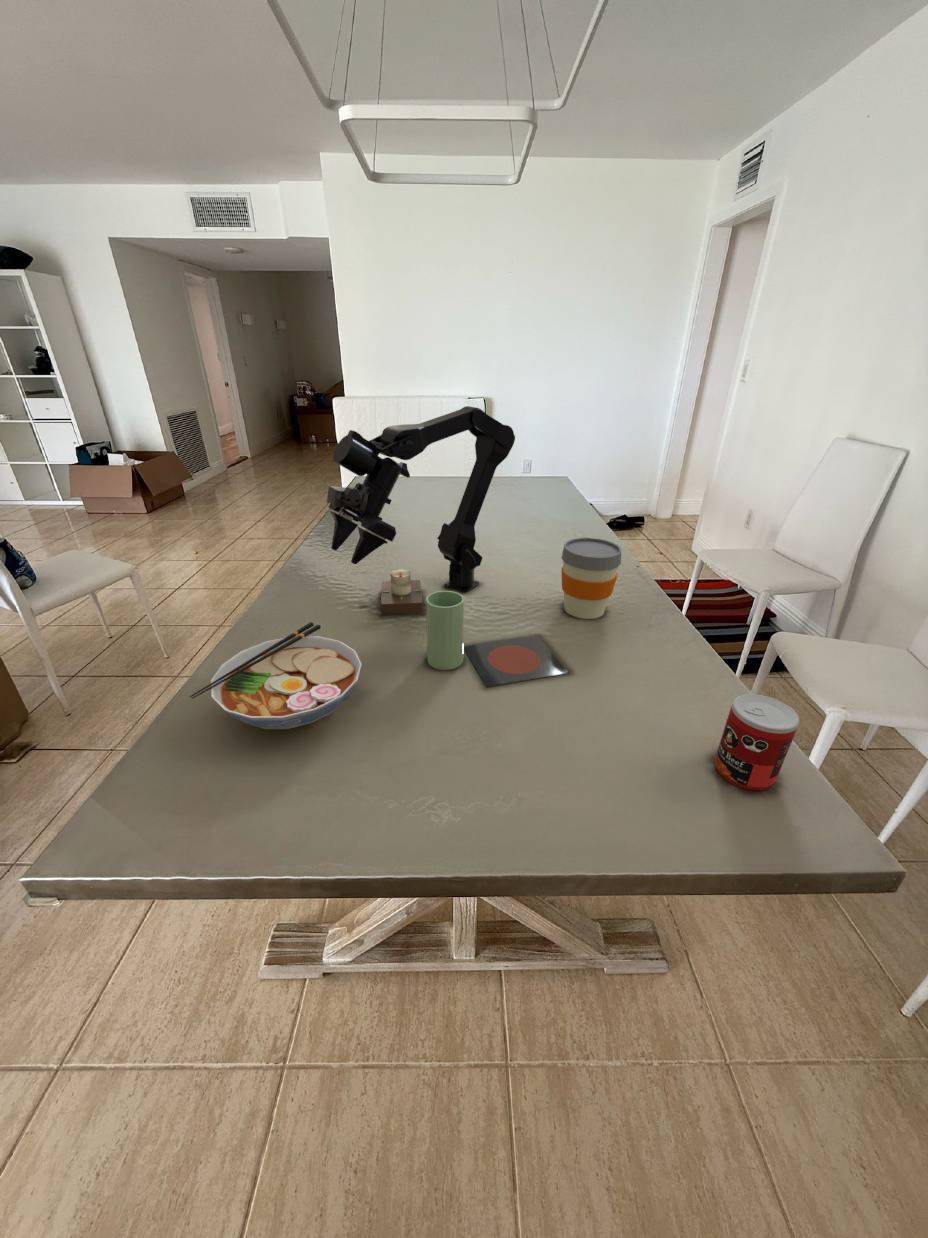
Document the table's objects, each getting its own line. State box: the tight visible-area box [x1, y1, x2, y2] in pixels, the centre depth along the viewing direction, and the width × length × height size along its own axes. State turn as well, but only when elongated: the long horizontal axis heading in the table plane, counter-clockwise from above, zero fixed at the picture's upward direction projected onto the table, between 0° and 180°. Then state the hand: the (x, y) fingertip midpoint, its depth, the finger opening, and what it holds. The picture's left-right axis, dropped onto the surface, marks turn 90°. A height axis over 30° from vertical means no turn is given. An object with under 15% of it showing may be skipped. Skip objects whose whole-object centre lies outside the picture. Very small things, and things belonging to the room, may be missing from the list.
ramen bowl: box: [189, 621, 363, 730], centre depth 84 cm, size 25×23×8 cm
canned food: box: [714, 693, 800, 791], centre depth 72 cm, size 8×8×11 cm
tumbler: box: [425, 590, 465, 671], centre depth 96 cm, size 7×7×13 cm
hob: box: [464, 635, 570, 688], centre depth 99 cm, size 14×16×1 cm
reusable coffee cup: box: [560, 537, 622, 620], centre depth 115 cm, size 13×13×15 cm
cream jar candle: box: [390, 569, 412, 595], centre depth 117 cm, size 4×4×5 cm
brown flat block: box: [380, 579, 424, 617], centre depth 119 cm, size 12×9×3 cm
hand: (343, 556), depth 106 cm, fingers open, 9 cm apart
